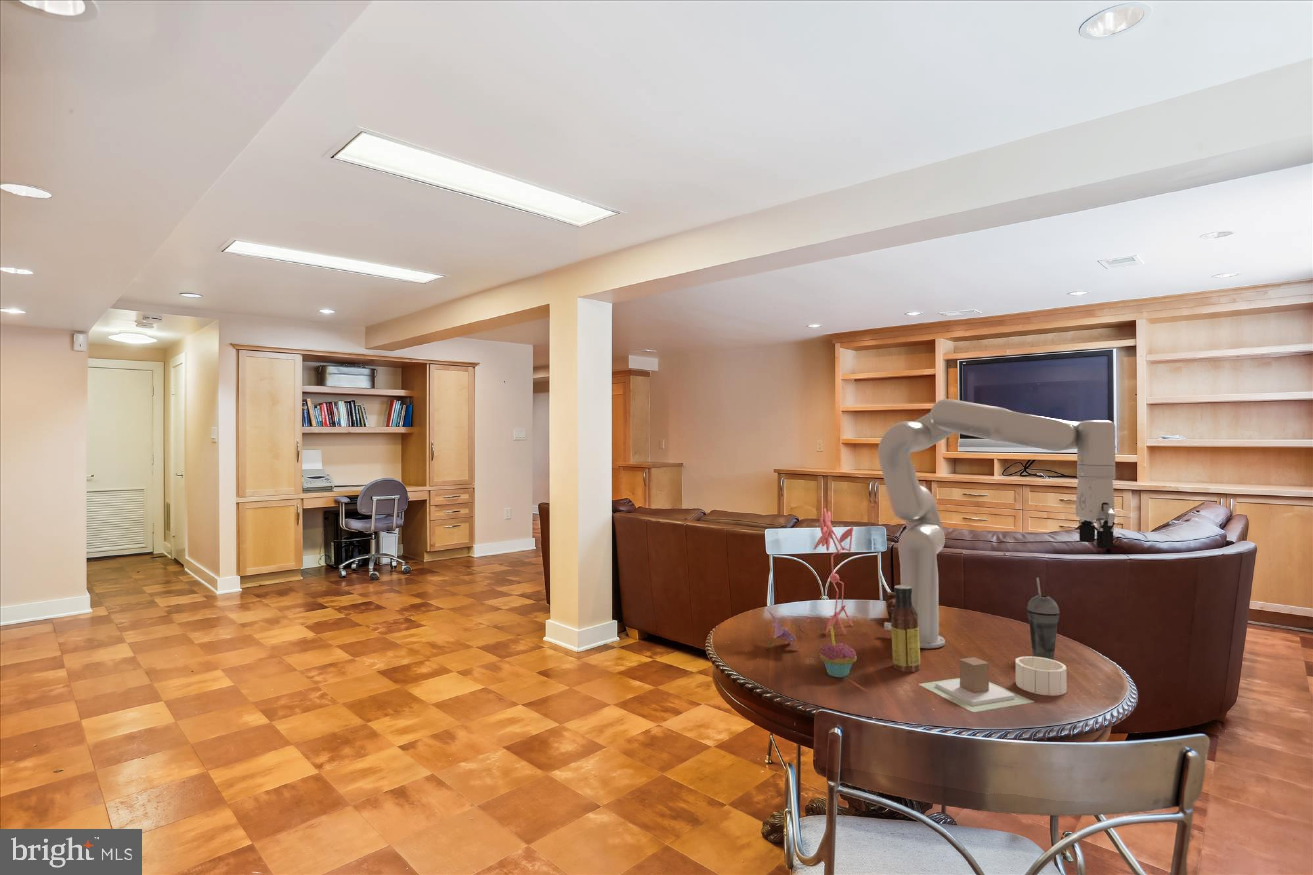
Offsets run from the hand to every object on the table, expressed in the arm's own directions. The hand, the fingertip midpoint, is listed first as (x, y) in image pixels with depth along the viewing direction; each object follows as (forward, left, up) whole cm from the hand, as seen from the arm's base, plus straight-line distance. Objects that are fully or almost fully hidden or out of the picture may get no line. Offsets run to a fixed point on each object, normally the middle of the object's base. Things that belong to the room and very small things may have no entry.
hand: (1095, 544), depth 156 cm
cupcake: (-54, -28, -30) cm, 68 cm away
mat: (-25, -28, -30) cm, 48 cm away
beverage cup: (-10, +6, -30) cm, 32 cm away
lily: (-71, -16, -30) cm, 79 cm away
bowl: (-12, -18, -30) cm, 37 cm away
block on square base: (-25, -28, -30) cm, 48 cm away
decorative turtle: (-45, +25, -30) cm, 60 cm away
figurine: (-65, +9, -30) cm, 73 cm away
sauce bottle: (-40, -18, -30) cm, 54 cm away
